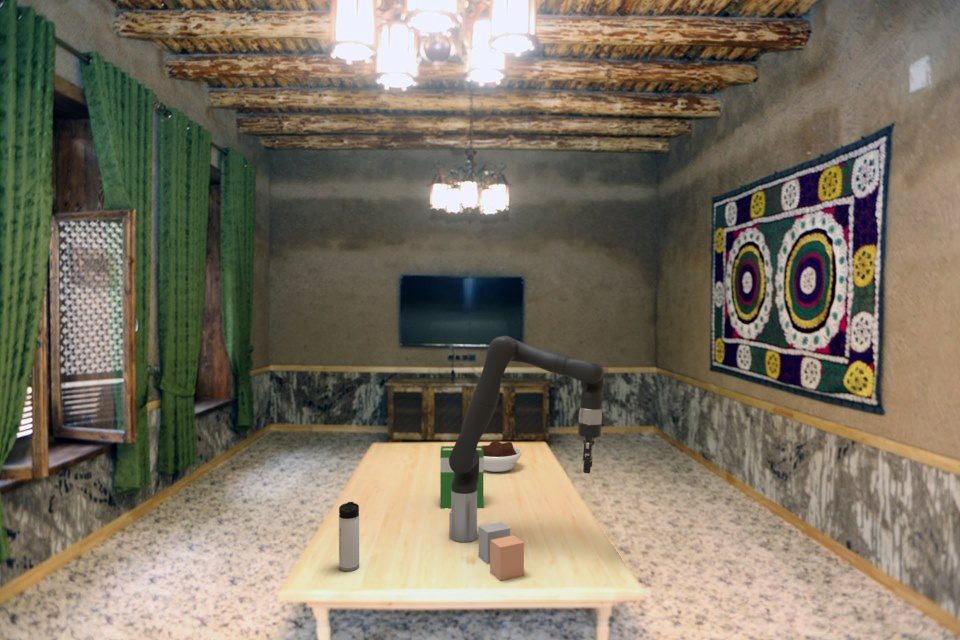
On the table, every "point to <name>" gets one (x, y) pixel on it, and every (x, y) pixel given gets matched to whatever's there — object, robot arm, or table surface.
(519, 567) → the terracotta clay block
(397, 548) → the table surface
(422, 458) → the table surface
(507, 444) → the chocolate pudding bowl
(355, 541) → the travel mug
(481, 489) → the hardback book
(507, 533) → the grey upright block
